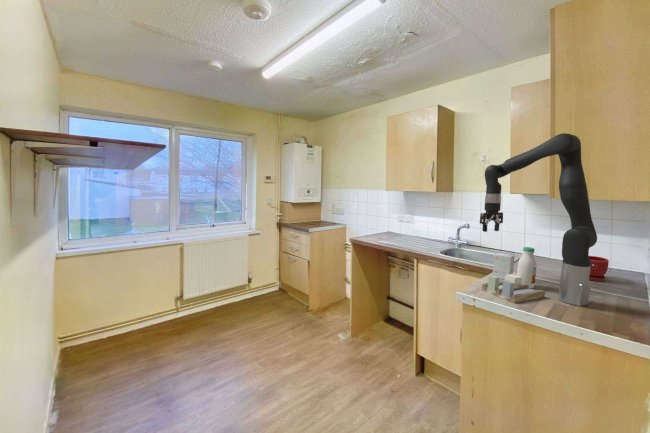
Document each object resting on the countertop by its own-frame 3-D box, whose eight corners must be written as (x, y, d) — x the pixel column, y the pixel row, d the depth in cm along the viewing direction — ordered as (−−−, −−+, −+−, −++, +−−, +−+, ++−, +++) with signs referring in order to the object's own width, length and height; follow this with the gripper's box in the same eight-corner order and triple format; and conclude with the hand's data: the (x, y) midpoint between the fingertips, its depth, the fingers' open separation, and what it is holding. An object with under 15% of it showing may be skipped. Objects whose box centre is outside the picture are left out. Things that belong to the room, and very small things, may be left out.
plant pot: (595, 275, 163) (598, 255, 161) (612, 283, 150) (615, 261, 148) (569, 273, 166) (571, 253, 164) (583, 281, 153) (585, 259, 152)
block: (521, 287, 137) (522, 277, 137) (513, 288, 136) (514, 278, 135) (511, 283, 142) (512, 273, 141) (504, 284, 140) (505, 274, 140)
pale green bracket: (523, 288, 138) (525, 274, 137) (495, 292, 132) (497, 278, 131) (514, 284, 143) (515, 271, 142) (486, 288, 136) (487, 275, 135)
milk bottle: (526, 289, 139) (530, 250, 137) (512, 284, 147) (516, 246, 144) (538, 288, 141) (542, 249, 139) (523, 282, 149) (527, 245, 146)
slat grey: (539, 293, 131) (541, 279, 131) (510, 298, 125) (512, 284, 124) (528, 289, 136) (530, 276, 135) (500, 294, 129) (501, 280, 129)
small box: (512, 278, 156) (515, 255, 154) (508, 280, 152) (510, 257, 150) (496, 274, 162) (498, 252, 160) (492, 276, 158) (494, 254, 156)
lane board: (544, 297, 130) (545, 291, 130) (513, 303, 123) (514, 296, 123) (511, 285, 145) (511, 279, 144) (482, 289, 138) (482, 283, 138)
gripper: (488, 202, 148) (486, 233, 150) (508, 202, 153) (506, 231, 155) (477, 201, 155) (475, 230, 157) (496, 201, 160) (494, 229, 162)
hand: (490, 231), depth 156 cm, fingers open, 8 cm apart
